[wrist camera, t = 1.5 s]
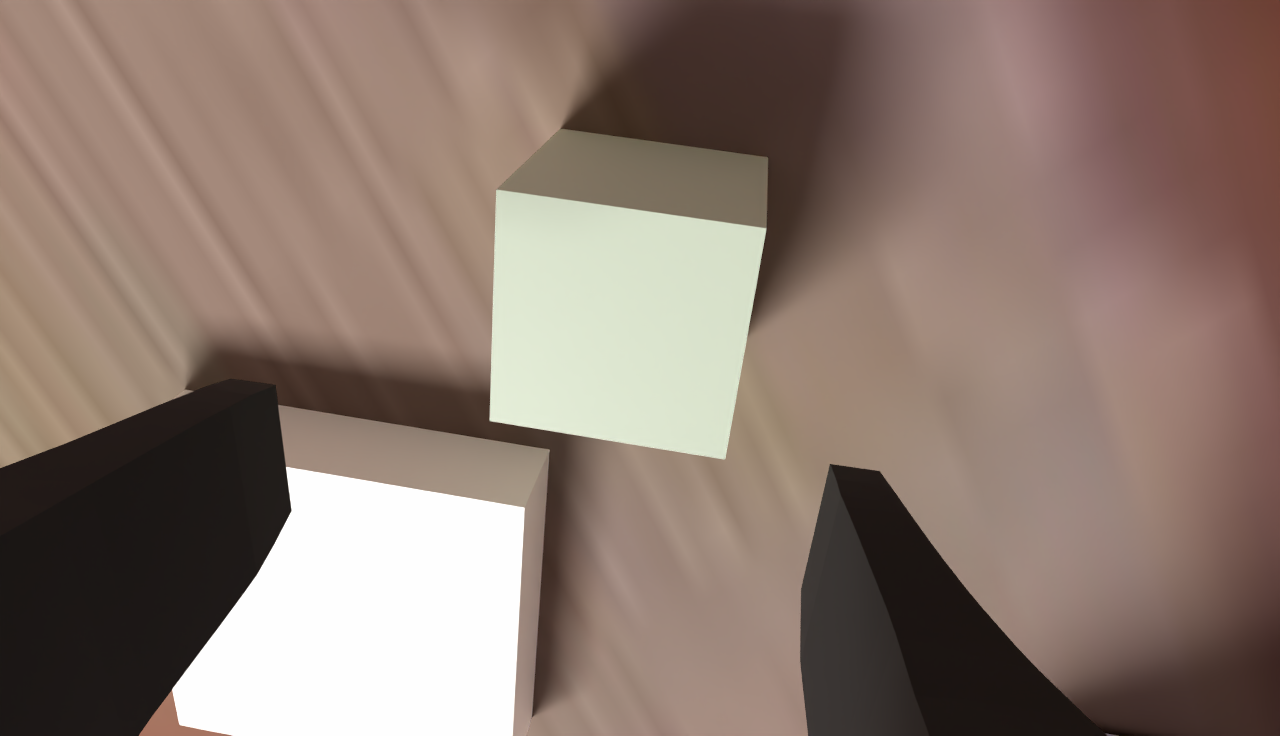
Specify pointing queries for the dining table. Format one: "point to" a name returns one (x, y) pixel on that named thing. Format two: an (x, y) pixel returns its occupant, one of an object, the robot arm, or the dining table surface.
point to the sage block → (626, 290)
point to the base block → (385, 591)
